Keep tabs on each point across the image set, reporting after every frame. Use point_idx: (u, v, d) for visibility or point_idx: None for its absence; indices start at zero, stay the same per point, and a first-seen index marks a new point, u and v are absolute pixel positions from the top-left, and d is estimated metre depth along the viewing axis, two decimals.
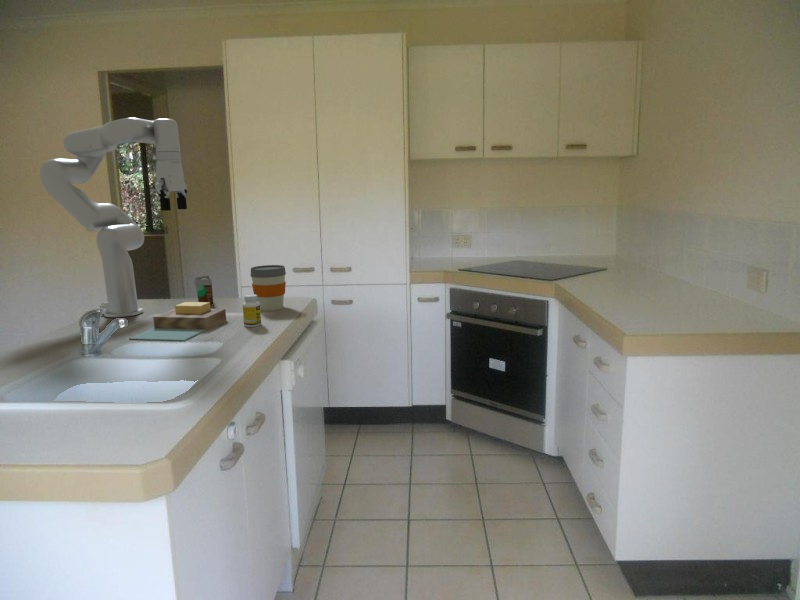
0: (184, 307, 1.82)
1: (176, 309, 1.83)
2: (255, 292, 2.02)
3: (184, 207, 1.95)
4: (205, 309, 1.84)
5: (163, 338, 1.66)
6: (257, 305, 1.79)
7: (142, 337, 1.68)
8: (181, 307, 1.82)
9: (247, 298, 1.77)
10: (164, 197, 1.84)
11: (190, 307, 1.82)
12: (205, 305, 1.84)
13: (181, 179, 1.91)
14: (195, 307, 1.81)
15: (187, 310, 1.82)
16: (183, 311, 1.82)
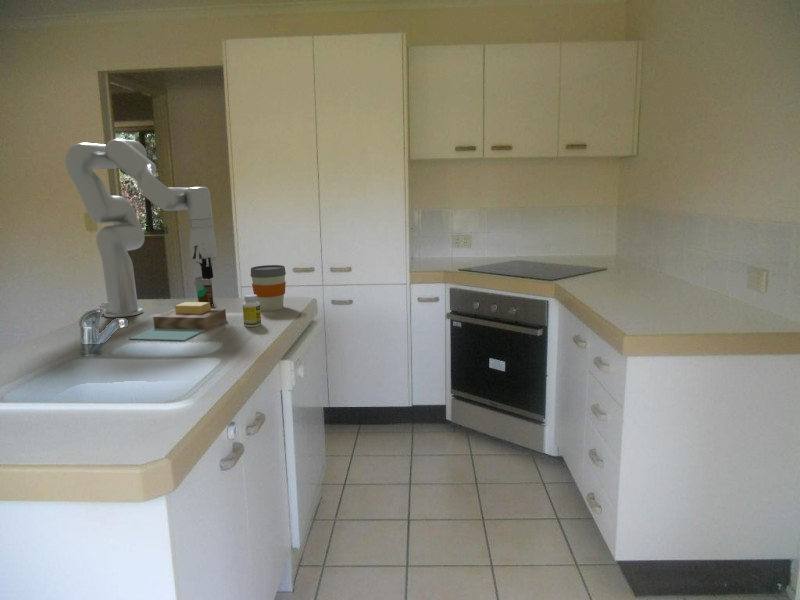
0: (184, 307, 1.82)
1: (176, 309, 1.83)
2: (255, 292, 2.02)
3: None
4: (205, 309, 1.84)
5: (163, 338, 1.66)
6: (257, 305, 1.79)
7: (142, 337, 1.68)
8: (181, 307, 1.82)
9: (247, 298, 1.77)
10: (206, 267, 1.91)
11: (190, 307, 1.82)
12: (205, 305, 1.84)
13: (214, 244, 1.92)
14: (195, 307, 1.81)
15: (187, 310, 1.82)
16: (183, 311, 1.82)
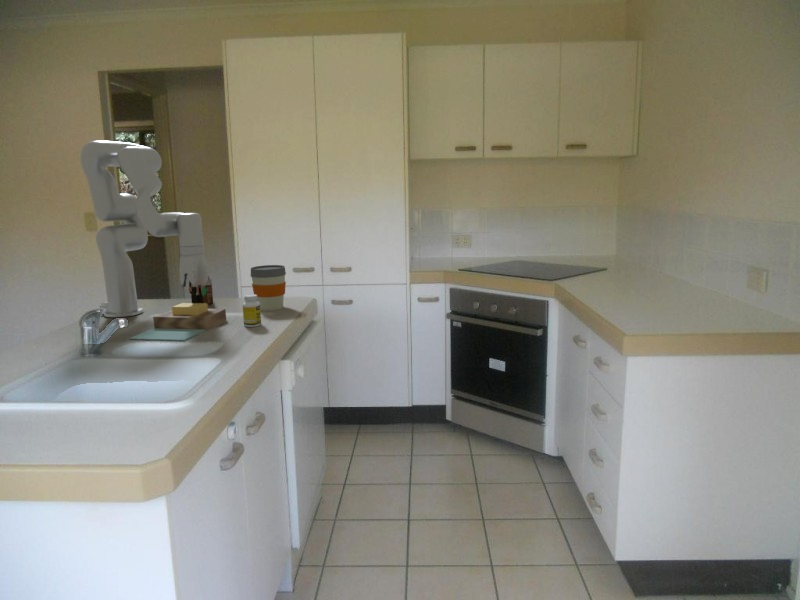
0: (181, 308, 1.80)
1: (173, 310, 1.81)
2: (255, 292, 2.02)
3: None
4: (202, 310, 1.82)
5: (163, 338, 1.66)
6: (257, 305, 1.79)
7: (142, 337, 1.68)
8: (178, 308, 1.80)
9: (247, 298, 1.77)
10: (196, 295, 1.85)
11: (187, 308, 1.80)
12: (202, 306, 1.82)
13: (204, 271, 1.87)
14: (192, 308, 1.80)
15: (184, 311, 1.80)
16: (180, 312, 1.81)
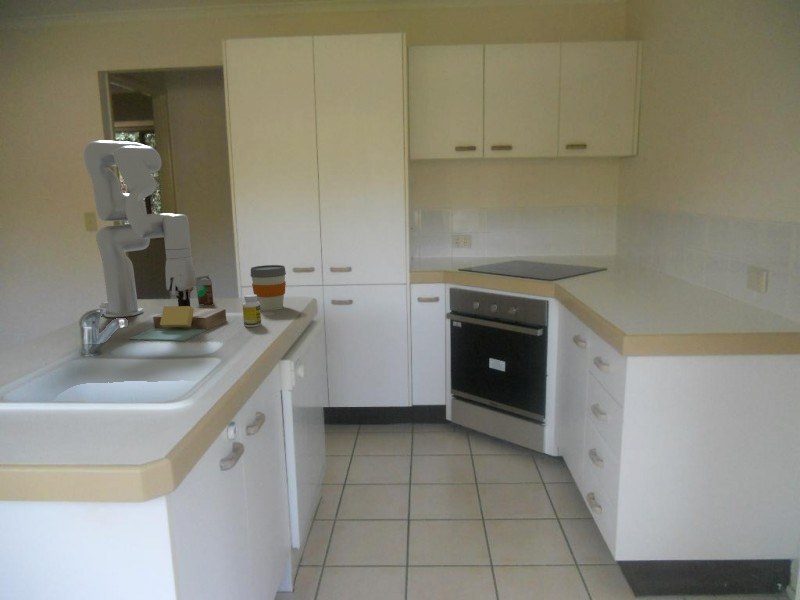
0: (170, 325, 1.74)
1: (163, 325, 1.75)
2: (255, 292, 2.02)
3: None
4: (191, 317, 1.75)
5: (163, 338, 1.66)
6: (257, 305, 1.79)
7: (142, 337, 1.68)
8: (167, 325, 1.74)
9: (247, 298, 1.77)
10: (183, 299, 1.78)
11: (176, 325, 1.74)
12: (189, 315, 1.74)
13: (192, 275, 1.80)
14: (182, 325, 1.73)
15: (175, 326, 1.75)
16: (171, 326, 1.75)
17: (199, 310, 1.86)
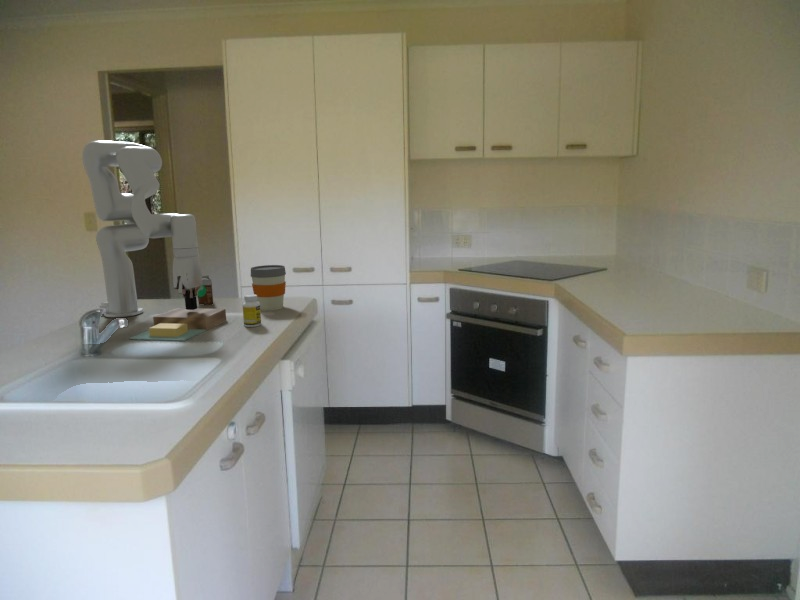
0: None
1: None
2: (255, 292, 2.02)
3: None
4: (182, 328, 1.70)
5: (163, 338, 1.66)
6: (257, 305, 1.79)
7: (142, 337, 1.68)
8: None
9: (247, 298, 1.77)
10: None
11: None
12: (182, 332, 1.70)
13: (198, 274, 1.84)
14: None
15: None
16: None
17: (199, 310, 1.86)
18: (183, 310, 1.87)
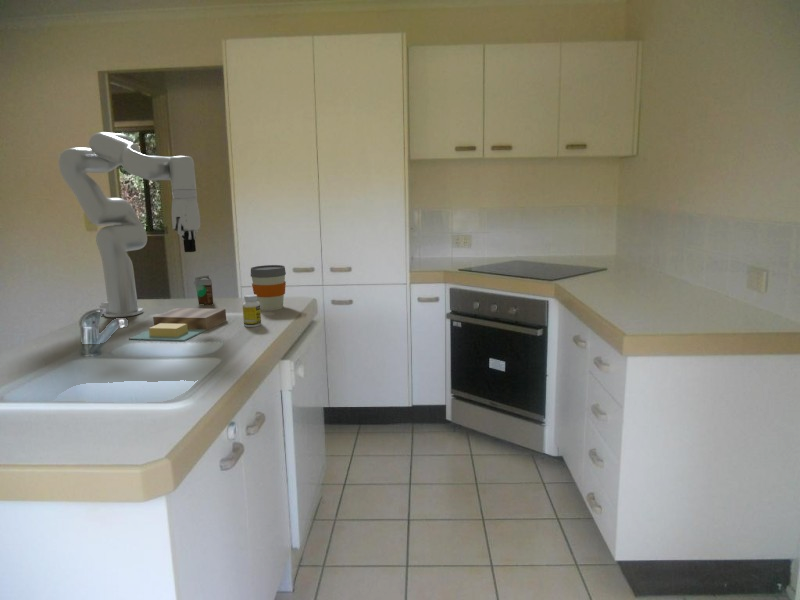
0: None
1: None
2: (255, 292, 2.02)
3: None
4: (182, 328, 1.70)
5: (163, 338, 1.66)
6: (257, 305, 1.79)
7: (142, 337, 1.68)
8: None
9: (247, 298, 1.77)
10: (188, 239, 1.84)
11: None
12: (182, 332, 1.70)
13: (197, 216, 1.86)
14: None
15: None
16: None
17: (199, 310, 1.86)
18: (183, 310, 1.87)
